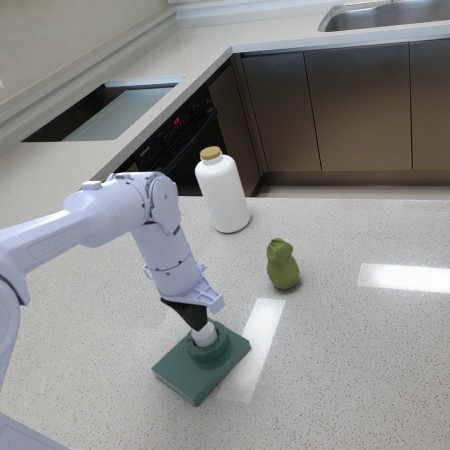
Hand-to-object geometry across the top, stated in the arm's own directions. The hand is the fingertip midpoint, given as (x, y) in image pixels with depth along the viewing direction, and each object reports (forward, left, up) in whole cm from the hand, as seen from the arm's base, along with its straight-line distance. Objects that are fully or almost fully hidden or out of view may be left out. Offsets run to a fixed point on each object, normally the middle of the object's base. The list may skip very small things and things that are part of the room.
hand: (200, 325), depth 67 cm
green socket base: (-1, +2, -9) cm, 9 cm away
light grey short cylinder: (+1, +2, -5) cm, 6 cm away
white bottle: (+28, +24, -9) cm, 38 cm away
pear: (+19, +1, -9) cm, 21 cm away
